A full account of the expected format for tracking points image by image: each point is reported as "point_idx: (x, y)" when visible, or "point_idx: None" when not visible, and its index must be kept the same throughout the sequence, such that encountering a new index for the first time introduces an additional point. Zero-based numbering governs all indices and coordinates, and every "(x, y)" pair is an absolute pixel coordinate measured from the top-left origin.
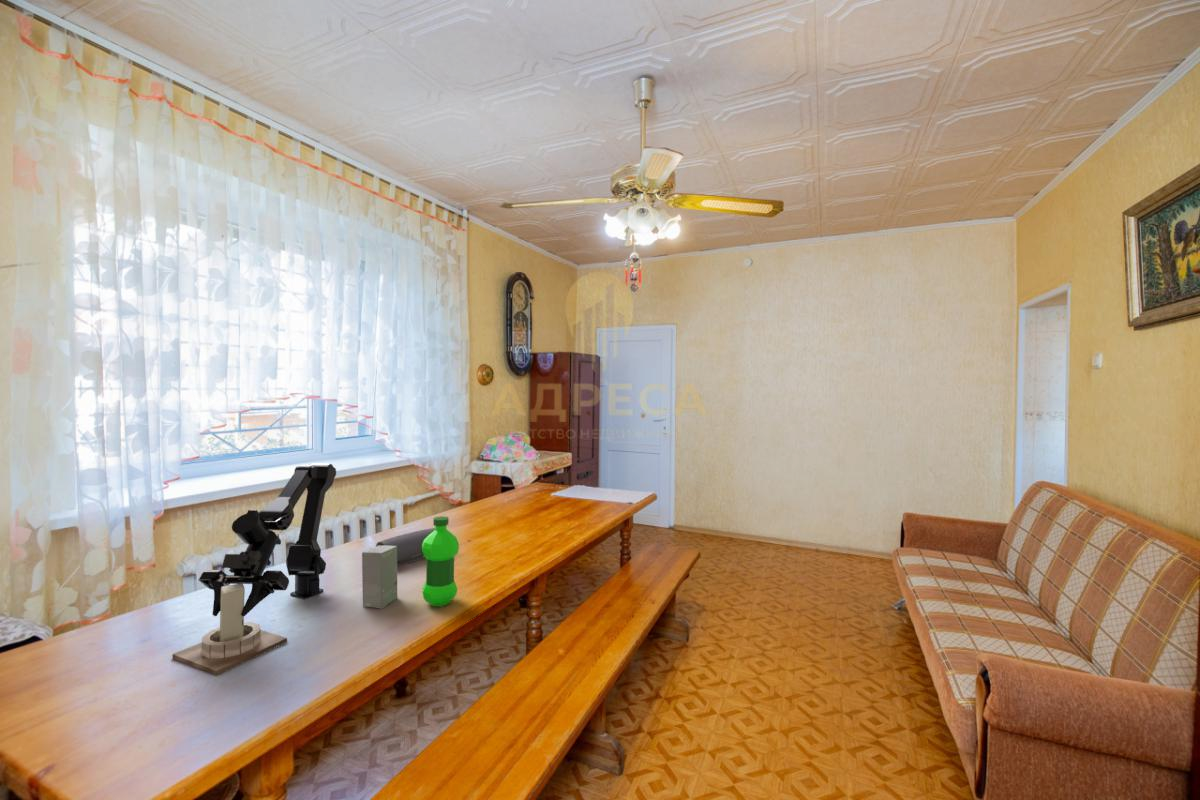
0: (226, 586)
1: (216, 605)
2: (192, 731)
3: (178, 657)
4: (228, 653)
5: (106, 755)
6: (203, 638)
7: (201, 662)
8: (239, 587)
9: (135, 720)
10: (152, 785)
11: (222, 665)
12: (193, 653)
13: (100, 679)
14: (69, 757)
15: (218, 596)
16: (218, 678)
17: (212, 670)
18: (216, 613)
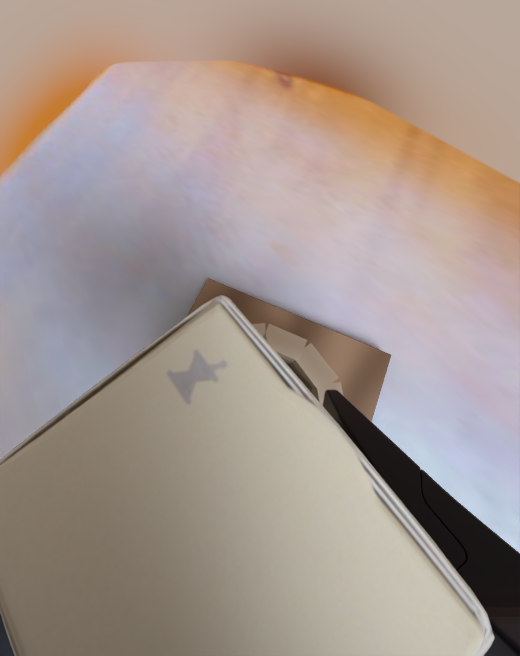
0: (389, 641)
1: (352, 426)
2: (144, 139)
3: (360, 343)
4: None
5: (232, 100)
6: (326, 369)
7: (273, 313)
8: (75, 594)
9: (257, 158)
10: (132, 67)
11: (208, 300)
12: (334, 360)
13: (459, 264)
14: (279, 97)
15: (409, 501)
16: (198, 273)
17: (222, 285)
18: (327, 410)
